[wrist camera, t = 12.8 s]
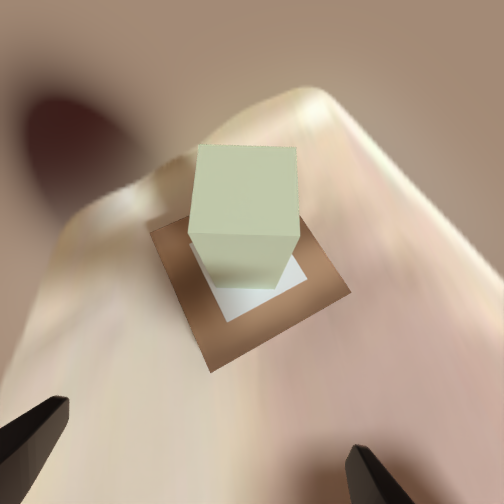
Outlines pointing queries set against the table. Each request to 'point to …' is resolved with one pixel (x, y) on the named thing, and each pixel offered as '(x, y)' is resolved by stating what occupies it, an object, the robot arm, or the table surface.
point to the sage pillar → (245, 213)
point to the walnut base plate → (245, 295)
